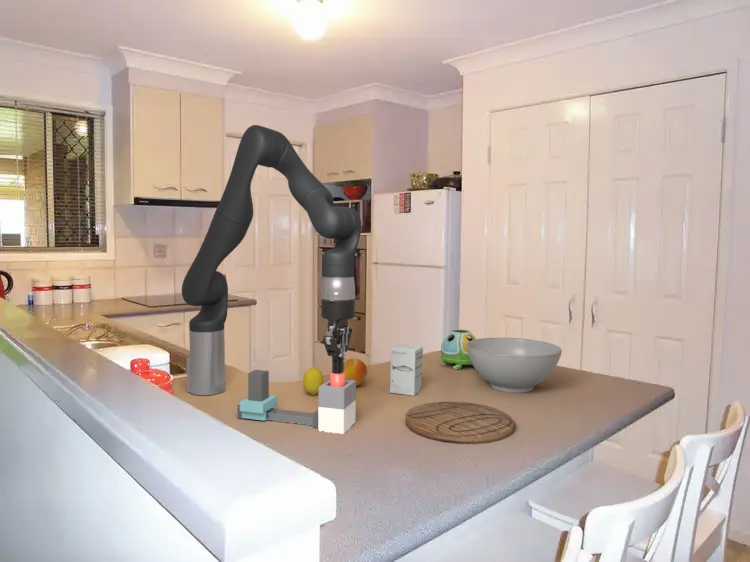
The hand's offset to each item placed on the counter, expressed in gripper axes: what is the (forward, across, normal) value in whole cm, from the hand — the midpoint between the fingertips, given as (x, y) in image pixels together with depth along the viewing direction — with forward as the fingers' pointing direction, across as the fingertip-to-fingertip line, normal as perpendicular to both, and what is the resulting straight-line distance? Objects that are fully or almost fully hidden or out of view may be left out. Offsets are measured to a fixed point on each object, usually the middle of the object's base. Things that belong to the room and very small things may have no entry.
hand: (337, 372), depth 125 cm
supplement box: (+13, -33, +8) cm, 36 cm away
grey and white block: (+12, 0, 0) cm, 13 cm away
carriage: (+12, 0, -20) cm, 23 cm away
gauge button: (+6, 0, 0) cm, 6 cm away
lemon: (+13, -21, -15) cm, 29 cm away
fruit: (+13, -33, -8) cm, 36 cm away
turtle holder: (+13, -69, +19) cm, 73 cm away
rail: (+12, 0, -14) cm, 19 cm away
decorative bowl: (+13, -48, +36) cm, 61 cm away
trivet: (+13, -11, +26) cm, 31 cm away
